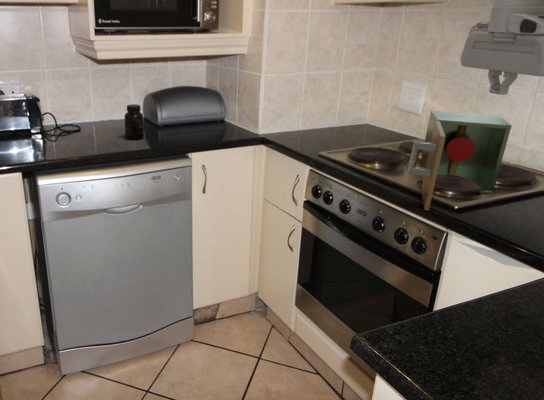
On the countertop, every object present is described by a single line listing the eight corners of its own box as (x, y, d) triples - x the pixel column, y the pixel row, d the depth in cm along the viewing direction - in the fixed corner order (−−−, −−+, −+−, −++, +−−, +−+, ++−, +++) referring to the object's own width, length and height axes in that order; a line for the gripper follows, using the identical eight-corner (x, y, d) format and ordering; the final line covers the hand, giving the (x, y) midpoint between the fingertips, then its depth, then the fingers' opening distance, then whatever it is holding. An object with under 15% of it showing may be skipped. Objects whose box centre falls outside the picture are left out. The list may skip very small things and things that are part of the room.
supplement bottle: (139, 134, 181) (139, 103, 176) (146, 139, 175) (145, 106, 170) (122, 136, 178) (121, 104, 173) (128, 141, 172) (127, 108, 168)
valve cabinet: (492, 195, 127) (511, 125, 120) (422, 187, 132) (437, 119, 125) (481, 180, 138) (499, 115, 131) (417, 173, 143) (431, 110, 135)
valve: (464, 174, 138) (476, 123, 132) (467, 179, 134) (480, 127, 128) (437, 171, 140) (448, 121, 135) (440, 176, 136) (452, 125, 130)
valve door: (400, 206, 119) (415, 133, 112) (400, 184, 134) (413, 118, 126) (428, 210, 117) (445, 136, 110) (425, 188, 131) (439, 121, 124)
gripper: (460, 22, 103) (447, 87, 108) (550, 24, 85) (530, 102, 90) (484, 21, 105) (470, 86, 110) (577, 24, 86) (556, 100, 91)
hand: (498, 93), depth 100 cm, fingers closed
